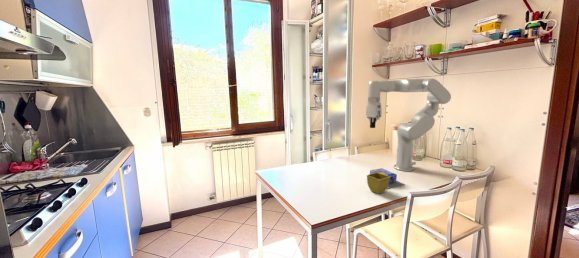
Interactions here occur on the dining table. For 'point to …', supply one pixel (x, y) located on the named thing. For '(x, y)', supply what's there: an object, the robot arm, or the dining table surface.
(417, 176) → the dining table surface
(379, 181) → the flower pot
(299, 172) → the dining table surface
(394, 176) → the ink cartridge box
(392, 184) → the mat
